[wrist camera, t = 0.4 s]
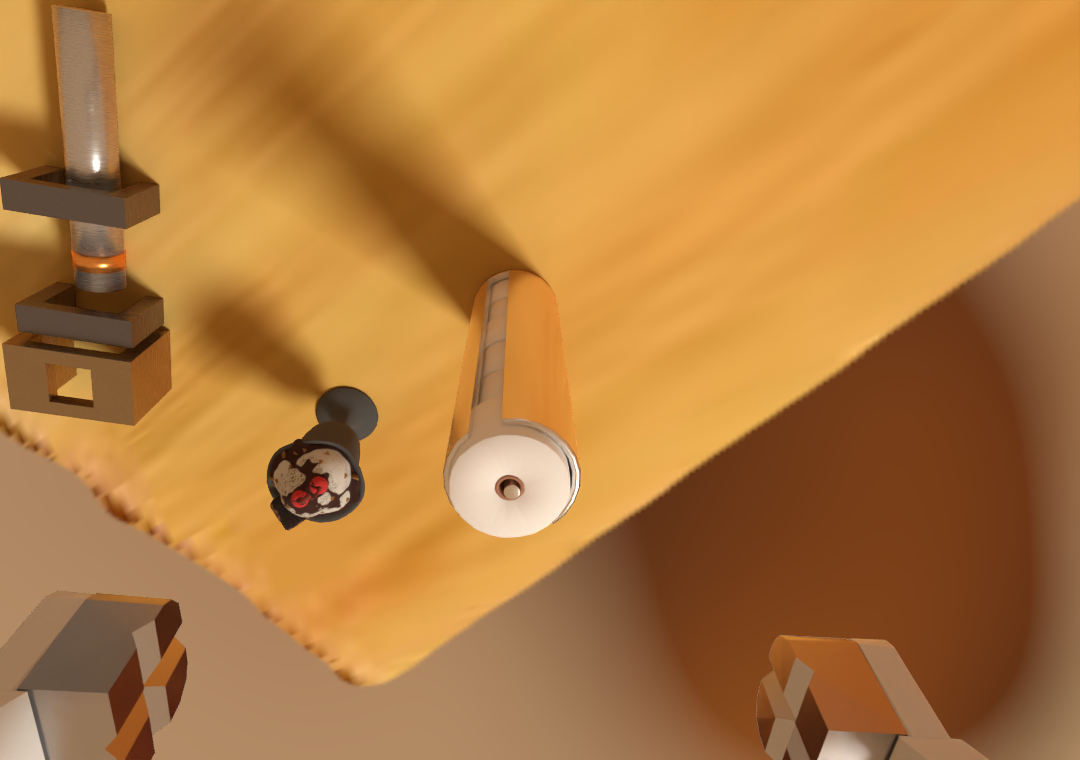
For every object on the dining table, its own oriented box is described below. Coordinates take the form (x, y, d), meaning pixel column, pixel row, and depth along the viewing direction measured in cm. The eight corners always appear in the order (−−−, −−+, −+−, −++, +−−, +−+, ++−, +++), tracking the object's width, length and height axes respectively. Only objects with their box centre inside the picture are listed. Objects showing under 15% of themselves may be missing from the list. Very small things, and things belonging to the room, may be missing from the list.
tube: (63, 4, 47) (40, 3, 44) (120, 15, 48) (101, 14, 45) (84, 275, 54) (66, 289, 51) (133, 280, 55) (118, 295, 52)
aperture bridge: (54, 312, 56) (1, 343, 50) (169, 330, 56) (130, 362, 51) (60, 372, 58) (10, 408, 52) (171, 388, 58) (134, 425, 53)
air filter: (469, 344, 57) (435, 543, 35) (477, 263, 55) (446, 422, 32) (551, 354, 58) (571, 556, 35) (563, 274, 55) (593, 438, 33)
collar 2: (57, 282, 55) (15, 304, 50) (163, 298, 55) (131, 321, 51) (59, 307, 55) (18, 331, 51) (164, 323, 56) (132, 348, 52)
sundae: (377, 370, 58) (332, 471, 45) (396, 443, 61) (361, 559, 47) (295, 382, 58) (227, 486, 45) (318, 454, 61) (261, 573, 48)
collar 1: (45, 165, 51) (-1, 177, 47) (159, 184, 52) (124, 198, 47) (48, 194, 52) (3, 209, 47) (160, 213, 53) (125, 229, 48)
